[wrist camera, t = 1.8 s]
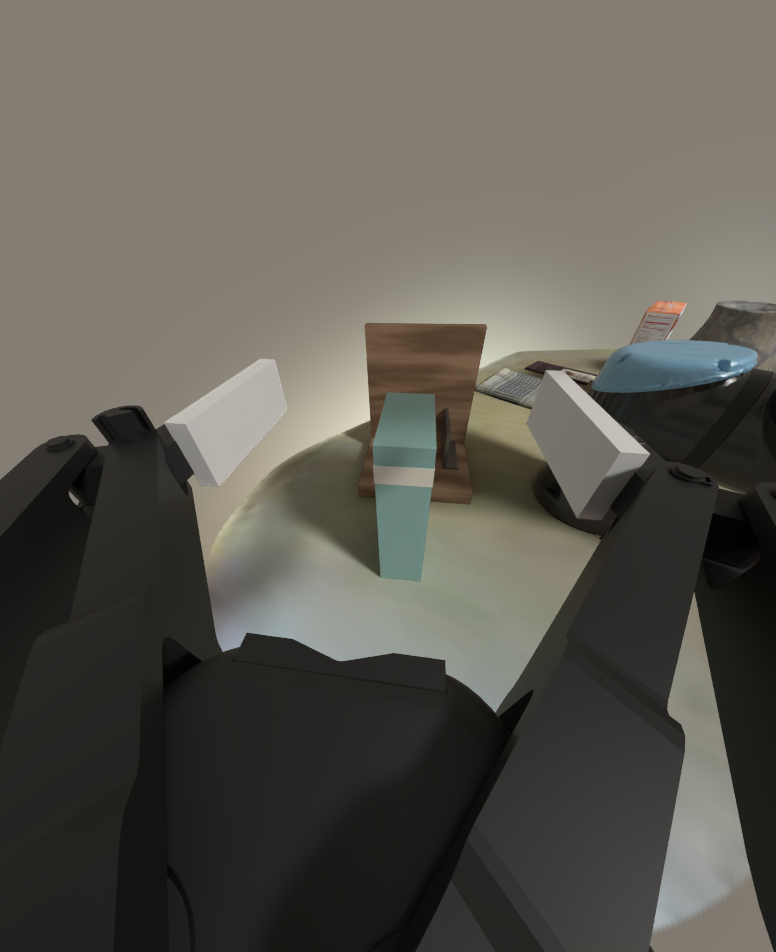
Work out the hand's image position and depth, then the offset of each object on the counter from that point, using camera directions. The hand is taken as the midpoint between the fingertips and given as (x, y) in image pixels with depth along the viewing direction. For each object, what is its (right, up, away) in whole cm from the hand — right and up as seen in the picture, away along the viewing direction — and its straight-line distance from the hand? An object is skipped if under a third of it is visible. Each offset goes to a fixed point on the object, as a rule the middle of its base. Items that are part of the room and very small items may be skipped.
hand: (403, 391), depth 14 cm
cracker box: (+59, +16, +58) cm, 84 cm away
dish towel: (+36, +19, +63) cm, 75 cm away
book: (+1, -14, +24) cm, 28 cm away
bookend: (+10, 0, +36) cm, 38 cm away
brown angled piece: (+4, -2, +38) cm, 38 cm away
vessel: (+83, +19, +61) cm, 105 cm away
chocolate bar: (+53, +27, +72) cm, 94 cm away
